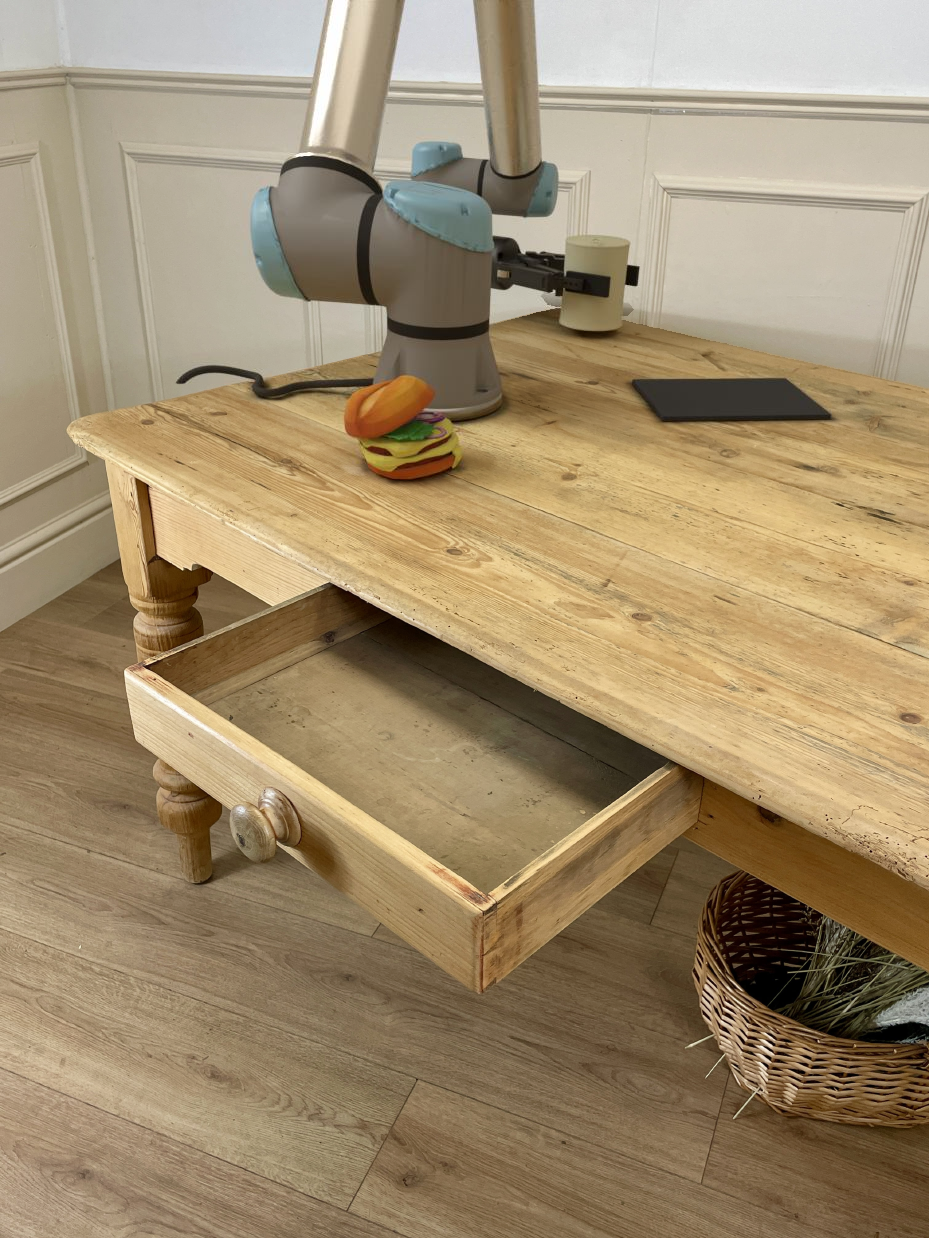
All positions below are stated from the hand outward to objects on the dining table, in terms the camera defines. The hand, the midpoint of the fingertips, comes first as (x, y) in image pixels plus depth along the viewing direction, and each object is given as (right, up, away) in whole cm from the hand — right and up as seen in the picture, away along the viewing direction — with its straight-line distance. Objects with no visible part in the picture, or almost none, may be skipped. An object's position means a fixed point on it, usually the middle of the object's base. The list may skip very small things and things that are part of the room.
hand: (623, 281), depth 140 cm
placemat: (+9, -21, -20) cm, 31 cm away
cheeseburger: (-29, -32, -40) cm, 59 cm away
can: (-4, -4, +5) cm, 8 cm away
